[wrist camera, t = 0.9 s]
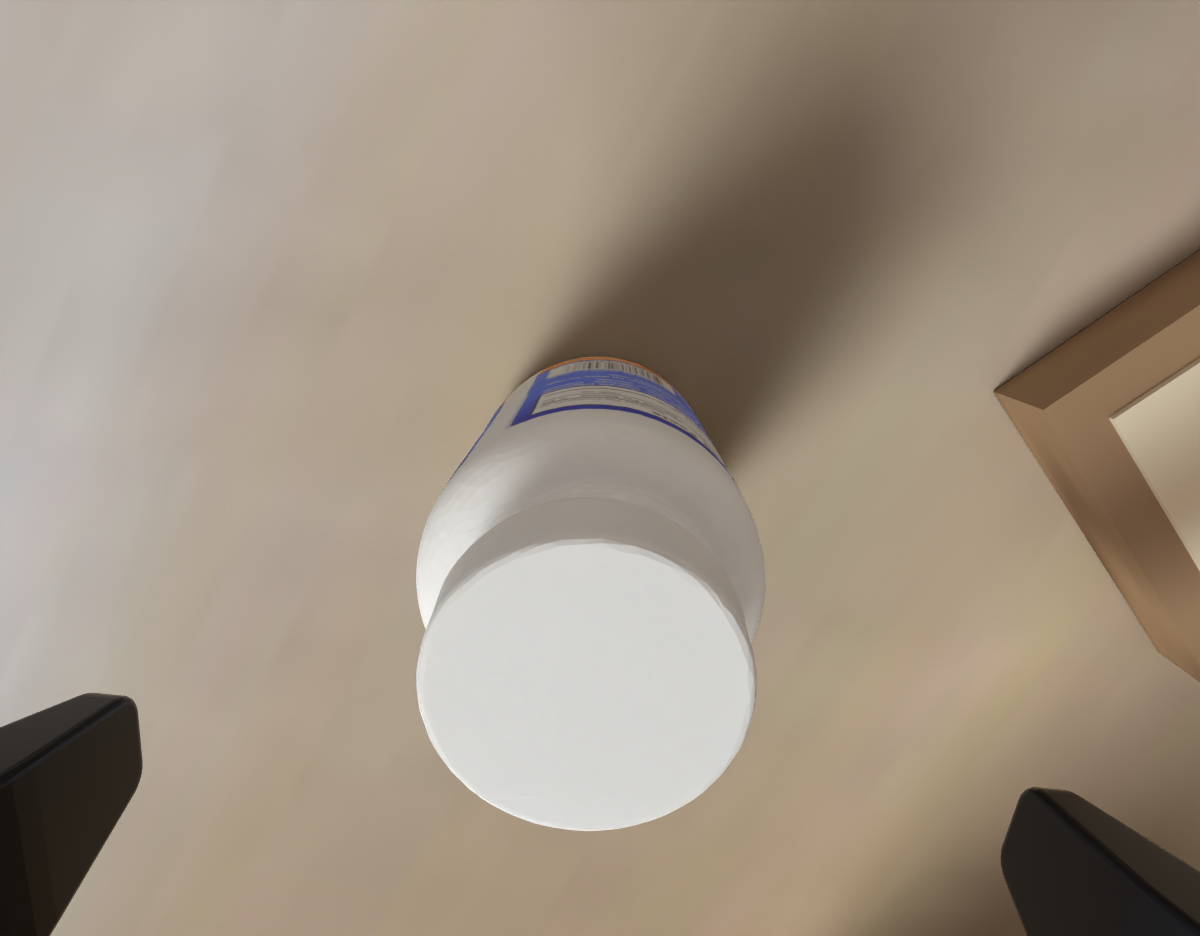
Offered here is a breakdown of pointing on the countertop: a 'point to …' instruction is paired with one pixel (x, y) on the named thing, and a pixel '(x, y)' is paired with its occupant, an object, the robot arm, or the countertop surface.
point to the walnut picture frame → (1130, 449)
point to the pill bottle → (589, 603)
